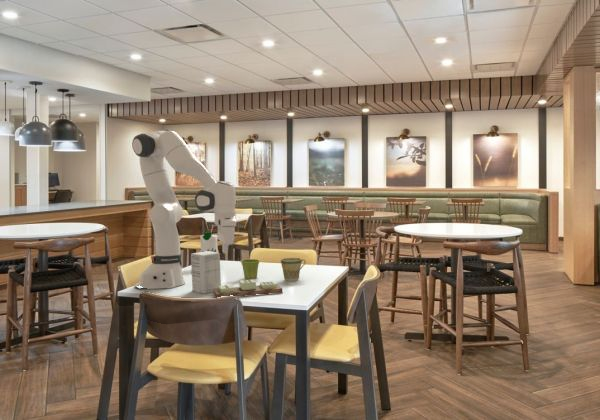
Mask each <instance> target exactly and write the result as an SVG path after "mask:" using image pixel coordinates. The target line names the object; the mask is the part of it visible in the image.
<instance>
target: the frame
mask: <svg viewBox="0 0 600 420" xmlns="http://www.w3.org/2000/svg"><path fill="white" fill-rule="evenodd" d="M234 287H235V292H223V293H220V292H219V289H213V292H212V293H213V296H214V297H215V298H216V297H221V296H230V295H233V296H242V297H246V296H245V295H253V296H257V295H256V294H265V295H270V294H269V293H276V294H283V287H281V285H279V284H277V288H270V289H262V288H261V287H260V284H258V285H257V284H256V289H251V290H241V288H240V287H239V286H234Z"/></svg>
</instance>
